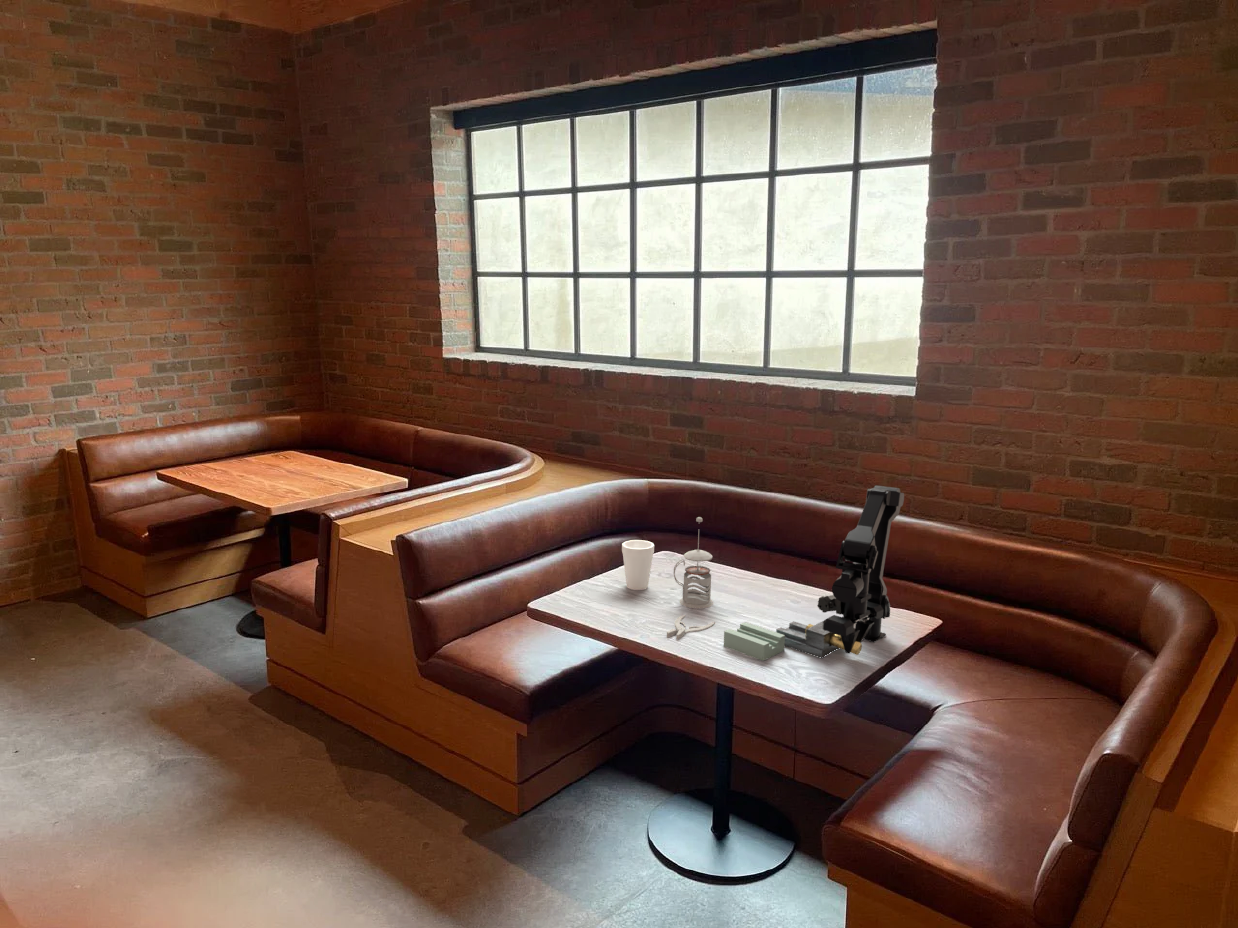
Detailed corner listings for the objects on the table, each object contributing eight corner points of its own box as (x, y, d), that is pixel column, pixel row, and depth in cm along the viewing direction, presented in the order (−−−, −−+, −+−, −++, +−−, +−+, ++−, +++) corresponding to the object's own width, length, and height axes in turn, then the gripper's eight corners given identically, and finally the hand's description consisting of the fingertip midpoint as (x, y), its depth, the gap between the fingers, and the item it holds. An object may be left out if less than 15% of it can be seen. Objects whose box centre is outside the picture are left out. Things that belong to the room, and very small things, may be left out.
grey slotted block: (795, 630, 228) (796, 609, 227) (843, 646, 218) (844, 624, 217) (773, 641, 221) (774, 619, 220) (821, 658, 211) (823, 635, 210)
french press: (715, 608, 243) (718, 522, 238) (673, 608, 243) (676, 521, 238) (712, 596, 252) (715, 512, 247) (672, 595, 252) (674, 512, 247)
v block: (744, 636, 224) (745, 621, 223) (784, 650, 216) (785, 635, 215) (723, 646, 218) (724, 631, 217) (763, 660, 209) (764, 645, 209)
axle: (811, 633, 220) (812, 622, 219) (861, 652, 211) (862, 641, 210) (804, 636, 218) (805, 625, 217) (854, 656, 209) (856, 644, 208)
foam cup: (658, 585, 261) (659, 543, 259) (643, 593, 254) (643, 551, 251) (631, 579, 266) (632, 538, 264) (615, 587, 258) (616, 545, 256)
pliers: (715, 619, 232) (689, 637, 219) (715, 624, 232) (689, 643, 220) (682, 611, 237) (655, 629, 225) (682, 617, 237) (655, 635, 225)
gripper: (845, 572, 220) (841, 631, 223) (805, 590, 207) (801, 652, 210) (886, 583, 212) (881, 643, 215) (847, 602, 199) (842, 666, 202)
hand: (851, 650), depth 211 cm, fingers closed on axle, 3 cm apart
